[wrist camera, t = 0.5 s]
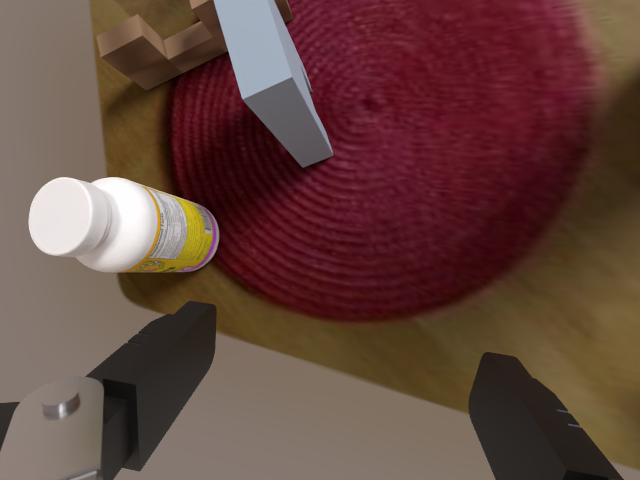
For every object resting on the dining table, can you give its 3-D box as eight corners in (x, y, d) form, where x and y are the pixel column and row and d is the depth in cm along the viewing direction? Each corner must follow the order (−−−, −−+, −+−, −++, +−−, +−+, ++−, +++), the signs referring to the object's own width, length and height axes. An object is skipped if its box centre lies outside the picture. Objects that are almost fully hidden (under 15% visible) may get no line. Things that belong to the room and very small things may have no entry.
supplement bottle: (152, 258, 32) (-2, 250, 20) (175, 195, 32) (37, 147, 20) (208, 282, 30) (79, 289, 18) (232, 216, 31) (120, 177, 18)
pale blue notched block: (275, 82, 31) (203, -33, 19) (304, 69, 30) (248, -57, 19) (302, 167, 29) (242, 99, 18) (333, 155, 29) (292, 76, 17)
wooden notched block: (287, 0, 32) (265, -56, 26) (293, 19, 31) (272, -34, 26) (142, 72, 35) (96, 36, 29) (146, 90, 34) (100, 57, 29)
